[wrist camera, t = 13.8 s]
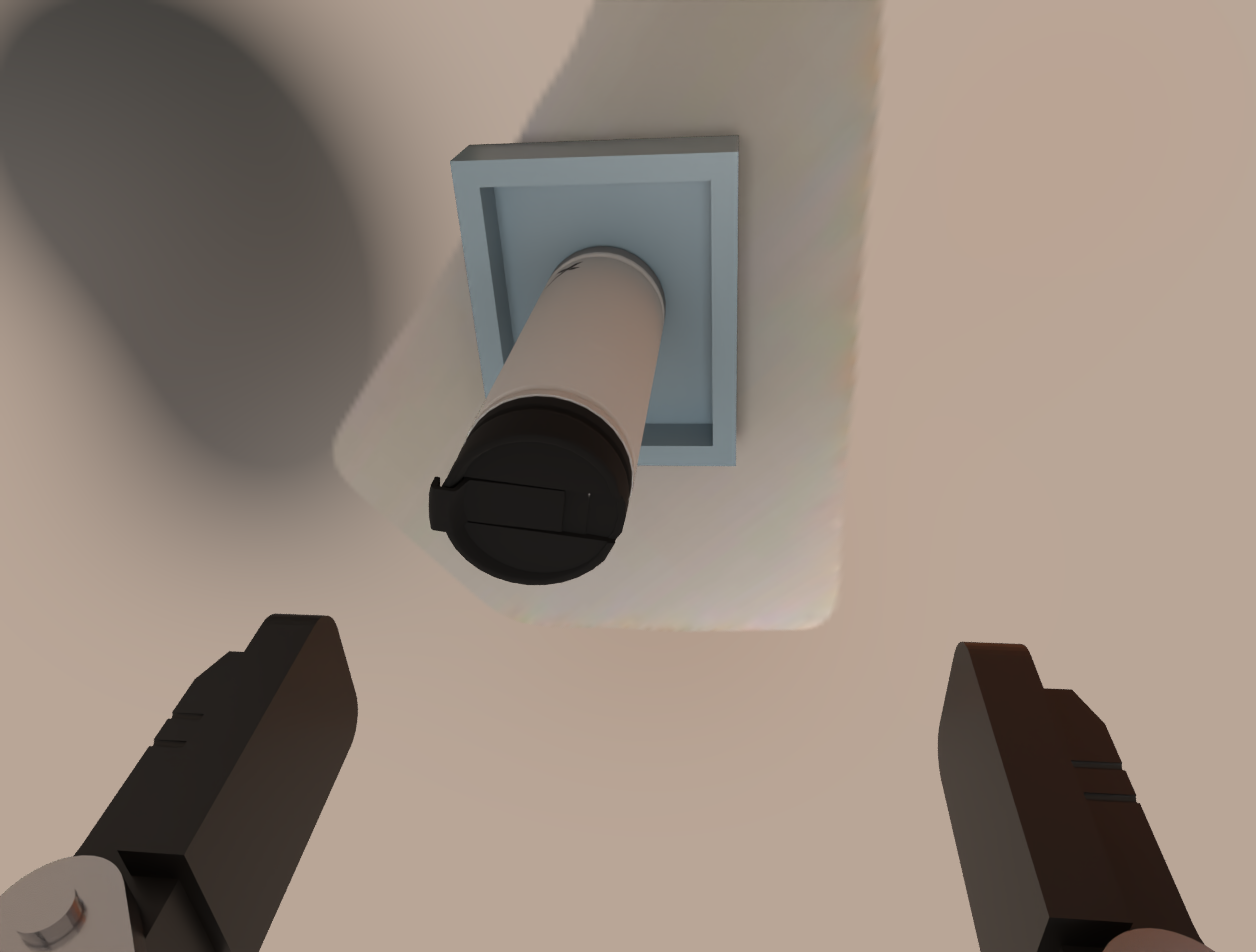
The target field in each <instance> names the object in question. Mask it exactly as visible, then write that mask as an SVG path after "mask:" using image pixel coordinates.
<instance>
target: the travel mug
mask: <svg viewBox="0 0 1256 952" xmlns="http://www.w3.org/2000/svg"><path fill="white" fill-rule="evenodd" d="M665 313H666V302H665V296H664V291H663V289H662V286H661V283H660V281H659V279H658V278H657V276H656V275H655V273H654V271H653V270H652V269H651V268H650V267H649V266H648V265H647V264H646V263H645V262H644V261H642V260H641V259H640V258H638V257H637V256H635V255H634V254H632V253H629V252H627V251H625V250H622V249H618V248H614V247H606V246H597V247H590V248H585V249H583V250H580V251H577V252H575V253H573V254H572V255H570V256H568V257H567V258H565V259H564V260H563V261H562V262H561V263H560V264H559V265H558V266H557V267H556V269H555V270H554V272H553V273H552V275H551V276H550V278H549V280H548V282H547V284H546V286H545V288H544V290H543V292H542V293H541V295H540V297H539V299H538V301H537V303H536V305H535V307H534V309H533V311H532V312H531V314H530V316H529V318H528V320H527V322H526V324H525V326H524V328H523V330H522V331H521V333H520V335H519V337H518V339H517V341H516V343H515V345H514V347H513V349H512V350H511V352H510V354H509V356H508V358H507V360H506V362H505V364H504V366H503V368H502V369H501V371H500V373H499V375H498V377H497V379H496V381H495V383H494V385H493V387H492V388H491V390H490V392H489V394H488V396H487V398H486V400H485V402H484V404H483V406H482V407H481V409H480V411H479V413H478V415H477V417H476V419H475V421H474V423H473V425H472V426H471V428H470V430H469V432H468V435H467V438H466V440H465V443H464V446H463V447H462V449H461V451H460V453H459V455H458V458H457V460H456V461H455V463H454V465H453V467H452V469H451V471H450V473H449V475H448V477H447V478H446V480H445V482H444V483H443V485H442V487H440V477H435V478H434V480H433V482H432V484H431V487H430V492H429V519H430V525H431V529H433V530H436V531H443V532H446V533H447V535H448V537H449V539H450V541H451V542H452V544H453V545H454V547H455V548H456V550H457V551H458V552H459V553H460V554H461V555H462V556H463V557H464V558H465V559H466V560H467V561H469V562H470V563H471V564H473V565H474V566H475V567H477V568H478V569H479V570H481V571H483V572H485V573H487V574H489V575H491V576H493V577H496V578H499V579H502V580H505V581H508V582H513V583H519V584H525V585H548V584H555V583H561V582H565V581H568V580H571V579H574V578H577V577H579V576H581V575H583V574H585V573H587V572H589V571H591V570H593V569H594V568H595V567H596V566H598V565H599V564H600V563H602V562H603V561H604V560H605V558H606V557H607V555H608V554H609V552H610V550H611V549H612V547H613V545H614V544H615V540H616V538H617V537H618V536H619V535H620V534H621V533H622V529H623V525H624V521H625V517H626V513H627V508H628V503H629V500H630V496H631V493H632V489H633V485H634V478H635V474H636V469H637V464H638V458H639V453H640V448H641V442H642V437H643V432H644V426H645V421H646V416H647V410H648V405H649V400H650V395H651V389H652V384H653V379H654V373H655V368H656V363H657V357H658V352H659V347H660V341H661V336H662V331H663V325H664V320H665Z"/></svg>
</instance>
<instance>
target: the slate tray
mask: <svg viewBox="0 0 1256 952" xmlns="http://www.w3.org/2000/svg"><path fill="white" fill-rule="evenodd" d="M738 142H739V135H736V136H708V137H679V138H651V139H623V140H594V141H566V142H538V143H510V144H483V145H469V146H468V147H466V148H465V149H464V150H463V151H462V152H460V154H458V155H457V156H456V157H455V158H453V159H452V160H451V161H450V164H451V171H452V178H453V184H454V191H455V198H456V204H457V211H458V218H459V224H460V231H461V238H462V244H463V251H464V258H465V264H466V271H467V278H468V284H469V291H470V298H471V304H472V311H473V318H474V324H475V331H476V338H477V344H478V351H479V357H480V364H481V371H482V377H483V384H484V391H485V397H486V398H487V396H488V394H489V392H490V390H491V388H492V387H493V385H494V383H495V381H496V379H497V377H498V375H499V373H500V371H501V369H502V368H503V366H504V364H505V362H506V360H507V358H508V356H509V354H510V352H511V350H512V349H513V347H514V345H515V343H516V341H517V339H518V337H519V335H520V333H521V331H522V330H523V328H524V326H525V324H526V322H527V320H528V318H529V316H530V314H531V312H532V311H533V309H534V307H535V305H536V303H537V301H538V299H539V297H540V295H541V293H542V292H543V290H544V288H545V286H546V284H547V282H548V280H549V278H550V276H551V275H552V273H553V272H554V270H555V269H556V267H557V266H558V265H559V264H560V263H561V262H562V261H563V260H564V259H565V258H567V257H568V256H570V255H572V254H573V253H575V252H577V251H580V250H583V249H585V248H590V247H597V246H606V247H614V248H618V249H622V250H625V251H627V252H629V253H632V254H634V255H635V256H637V257H638V258H640V259H641V260H642V261H644V262H645V263H646V264H647V265H648V266H649V267H650V268H651V269H652V270H653V271H654V273H655V275H656V276H657V278H658V279H659V281H660V283H661V286H662V289H663V291H664V296H665V302H666V313H665V320H664V325H663V331H662V336H661V341H660V347H659V352H658V357H657V363H656V368H655V373H654V379H653V384H652V389H651V395H650V400H649V405H648V410H647V416H646V421H645V426H644V432H643V437H642V442H641V448H640V453H639V458H638V464H637V465H647V466H736V387H737V265H738Z"/></svg>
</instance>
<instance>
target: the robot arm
mask: <svg viewBox="0 0 1256 952" xmlns="http://www.w3.org/2000/svg"><path fill="white" fill-rule="evenodd" d="M172 713H173V716H172V718H171V719H168V720H167V721H166V722H165V724H164V725H163V727H162V728H161V730H160V731H159V733H158V734H157V736H156V737H155V739H154V745H153V746H149V747H148V749H147V750H146V752H145V753H144V755H143V756H142V758H141V759H140V760H139V762H138V763H137V765H136V766H135V768H134V769H133V771H132V772H131V774H130V775H129V777H128V778H127V780H126V781H125V783H124V784H123V786H122V787H121V788H120V790H119V791H118V793H117V794H116V796H115V797H114V799H113V800H112V802H111V803H110V804H109V806H108V807H107V809H106V810H105V812H104V813H103V815H102V816H101V818H100V819H99V821H98V822H97V824H96V825H95V827H94V828H93V829H92V831H91V832H90V834H89V836H88V837H87V838H86V840H85V841H84V843H83V844H82V846H81V847H80V848H79V850H78V851H77V852H76V853H75V855H74V856H73V857H68V858H64V859H60V860H57V861H54V862H52V863H49V864H46V865H44V866H42V867H40V868H39V869H36V870H34V871H33V872H31V873H29V874H28V875H26V876H25V877H23V878H21V879H20V880H19V881H17V882H16V883H15V884H14V885H12V886H11V887H10V888H9V889H7V890H6V891H5V892H4V893H3V894H2V895H1V896H0V952H259V950H260V948H261V945H262V943H263V941H264V939H265V936H266V934H267V932H268V930H269V928H270V925H271V923H272V921H273V918H274V916H275V914H276V912H277V910H278V908H279V905H280V903H281V901H282V899H283V896H284V894H285V892H286V889H287V887H288V885H289V883H290V881H291V878H292V876H293V874H294V872H295V870H296V867H297V865H298V863H299V861H300V858H301V856H302V854H303V852H304V849H305V847H306V845H307V843H308V841H309V838H310V836H311V834H312V831H313V829H314V827H315V825H316V823H317V820H318V818H319V816H320V813H321V811H322V809H323V807H324V805H325V803H326V800H327V798H328V796H329V794H330V791H331V789H332V787H333V785H334V782H335V780H336V778H337V775H338V773H339V771H340V769H341V767H342V764H343V762H344V760H345V758H346V755H347V753H348V751H349V749H350V747H351V744H352V742H353V738H354V735H355V731H356V724H357V716H358V704H357V697H356V692H355V689H354V685H353V682H352V679H351V675H350V671H349V668H348V664H347V661H346V657H345V654H344V650H343V646H342V643H341V639H340V636H339V632H338V628H337V626H336V623H335V621H334V620H333V619H332V618H331V617H330V616H322V615H296V614H295V615H294V614H272V615H270V616H269V617H268V618H266V619H265V621H264V622H263V623H262V625H261V626H260V628H259V629H258V631H257V633H256V634H255V636H254V637H253V639H252V640H251V642H250V643H249V645H248V647H247V648H246V650H245V651H244V652H231V651H229V652H228V653H227V654H225V655H224V656H223V657H222V658H220V659H219V660H218V661H217V662H216V663H214V664H213V665H212V666H211V667H209V668H208V669H207V670H206V671H204V672H203V673H202V674H201V675H200V676H199V677H197V678H196V679H195V680H194V681H193V683H192V684H191V686H190V687H189V689H188V690H187V692H186V693H185V694H184V696H183V697H182V699H181V700H180V702H179V703H178V705H177V706H176V708H175V709H174V711H173V712H172ZM938 759H939V769H940V775H941V781H942V785H943V789H944V794H945V798H946V802H947V807H948V811H949V816H950V820H951V824H952V829H953V833H954V837H955V842H956V846H957V850H958V855H959V859H960V864H961V868H962V872H963V877H964V881H965V885H966V890H967V894H968V898H969V902H970V907H971V911H972V916H973V920H974V925H975V929H976V933H977V938H978V942H979V946H980V951H981V952H1215V951H1213V950H1212V949H1210V948H1209V947H1207V946H1206V945H1204V943H1203V942H1202V940H1201V939H1200V937H1199V935H1198V933H1197V931H1196V929H1195V927H1194V925H1193V923H1192V921H1191V919H1190V917H1189V914H1188V912H1187V910H1186V908H1185V905H1184V903H1183V901H1182V899H1181V896H1180V894H1179V892H1178V889H1177V887H1176V885H1175V883H1174V880H1173V878H1172V876H1171V873H1170V871H1169V869H1168V866H1167V864H1166V862H1165V860H1164V858H1163V855H1162V853H1161V851H1160V848H1159V846H1158V844H1157V841H1156V839H1155V837H1154V835H1153V832H1152V830H1151V828H1150V826H1149V823H1148V821H1147V819H1146V816H1145V814H1144V812H1143V810H1142V807H1141V805H1140V803H1137V802H1136V794H1135V791H1134V789H1133V787H1132V785H1131V782H1130V780H1129V778H1128V775H1127V773H1126V771H1124V770H1122V762H1121V759H1120V757H1119V755H1118V753H1117V750H1116V748H1115V746H1114V744H1113V741H1112V739H1111V737H1110V735H1109V732H1108V730H1107V728H1106V725H1105V724H1104V723H1103V721H1101V719H1100V718H1099V717H1098V716H1097V715H1096V714H1095V713H1094V712H1093V711H1092V710H1091V709H1090V708H1089V707H1088V706H1087V705H1086V704H1085V703H1084V702H1083V701H1082V700H1081V699H1080V698H1079V697H1078V695H1077V694H1076V693H1075V692H1074V691H1073V690H1067V689H1044V688H1043V686H1042V683H1041V681H1040V678H1039V675H1038V673H1037V670H1036V668H1035V665H1034V662H1033V660H1032V657H1031V655H1030V652H1029V651H1028V649H1027V647H1026V646H1024V645H1022V644H1003V643H978V642H977V643H976V642H960V643H959V644H958V645H957V647H956V650H955V654H954V658H953V663H952V668H951V672H950V677H949V682H948V687H947V692H946V696H945V701H944V706H943V711H942V716H941V721H940V726H939V733H938Z"/></svg>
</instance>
